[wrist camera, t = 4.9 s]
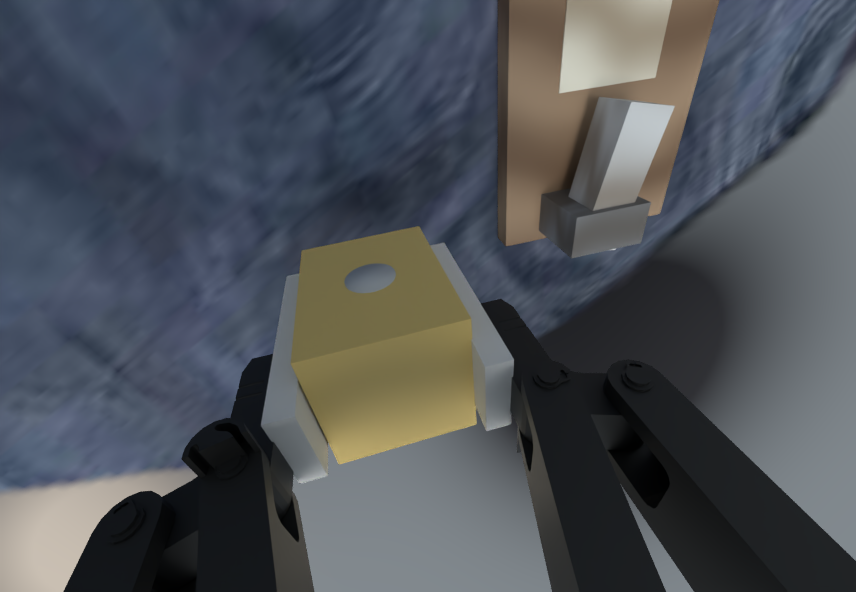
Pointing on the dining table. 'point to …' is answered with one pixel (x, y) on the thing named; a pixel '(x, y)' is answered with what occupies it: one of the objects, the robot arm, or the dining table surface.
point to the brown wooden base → (592, 115)
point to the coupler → (382, 344)
